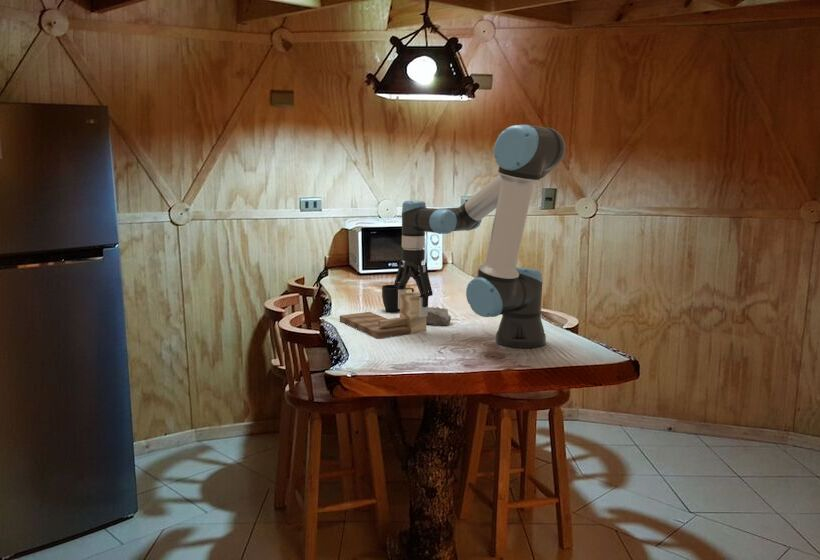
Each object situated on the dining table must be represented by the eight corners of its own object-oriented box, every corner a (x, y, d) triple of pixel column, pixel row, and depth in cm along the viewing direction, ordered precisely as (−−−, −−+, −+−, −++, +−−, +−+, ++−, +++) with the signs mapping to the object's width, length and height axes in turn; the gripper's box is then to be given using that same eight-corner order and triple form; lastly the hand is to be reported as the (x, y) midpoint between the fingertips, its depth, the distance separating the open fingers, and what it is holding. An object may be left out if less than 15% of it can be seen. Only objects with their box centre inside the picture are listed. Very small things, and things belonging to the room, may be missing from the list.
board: (410, 333, 202) (410, 327, 201) (377, 338, 195) (377, 332, 195) (370, 317, 225) (370, 311, 225) (339, 321, 219) (339, 315, 219)
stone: (424, 327, 210) (424, 310, 210) (419, 322, 218) (419, 306, 217) (452, 326, 213) (452, 309, 212) (446, 321, 220) (446, 304, 219)
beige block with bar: (426, 331, 205) (426, 295, 203) (385, 337, 197) (385, 300, 195) (415, 326, 211) (415, 292, 209) (374, 332, 203) (374, 296, 201)
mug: (414, 313, 232) (414, 288, 231) (382, 313, 231) (382, 288, 230) (413, 308, 240) (413, 284, 239) (381, 308, 239) (381, 284, 238)
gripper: (444, 252, 194) (442, 318, 198) (403, 243, 215) (402, 304, 218) (424, 253, 190) (423, 321, 194) (384, 244, 211) (384, 306, 215)
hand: (412, 312), depth 206 cm, fingers open, 13 cm apart
